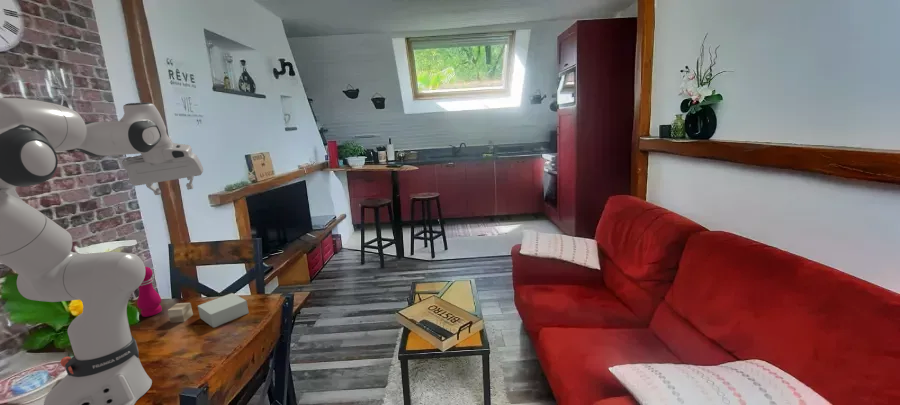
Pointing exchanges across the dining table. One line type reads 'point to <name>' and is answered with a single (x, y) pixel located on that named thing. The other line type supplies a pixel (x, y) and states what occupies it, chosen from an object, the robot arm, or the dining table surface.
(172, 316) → the birch cube
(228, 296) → the base block
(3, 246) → the robot arm
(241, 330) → the dining table surface
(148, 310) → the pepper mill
